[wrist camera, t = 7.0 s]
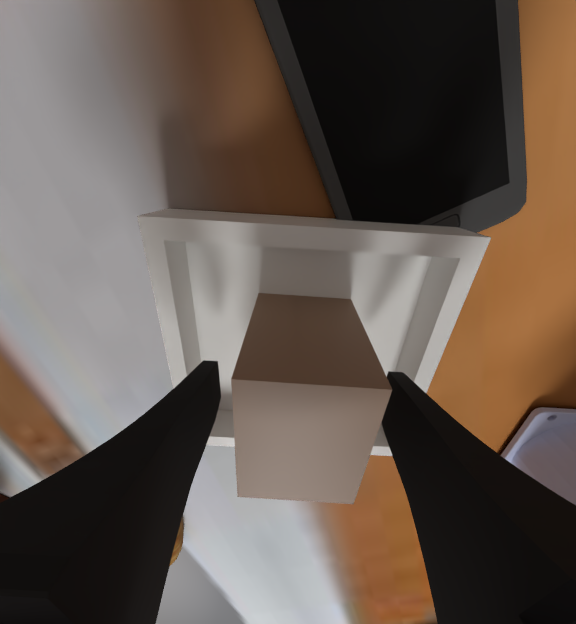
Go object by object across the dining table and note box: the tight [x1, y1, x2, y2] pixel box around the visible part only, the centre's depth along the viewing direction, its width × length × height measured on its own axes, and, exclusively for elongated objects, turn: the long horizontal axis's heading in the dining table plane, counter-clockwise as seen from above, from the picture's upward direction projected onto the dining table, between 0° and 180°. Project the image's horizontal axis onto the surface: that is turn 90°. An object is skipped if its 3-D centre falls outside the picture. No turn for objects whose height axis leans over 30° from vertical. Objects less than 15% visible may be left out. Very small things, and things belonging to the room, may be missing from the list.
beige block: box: [231, 293, 392, 504], centre depth 11 cm, size 4×6×6 cm
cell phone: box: [254, 0, 527, 233], centre depth 9 cm, size 7×14×1 cm, turn 26°
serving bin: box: [137, 208, 491, 456], centre depth 13 cm, size 13×13×2 cm
